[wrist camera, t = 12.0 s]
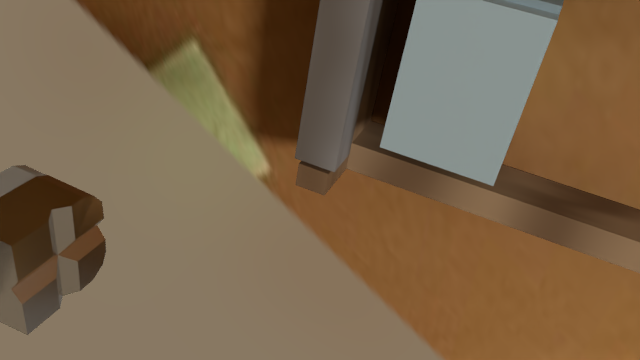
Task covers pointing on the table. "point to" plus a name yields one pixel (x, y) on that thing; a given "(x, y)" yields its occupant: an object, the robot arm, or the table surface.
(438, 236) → the table surface
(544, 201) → the bay
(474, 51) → the grey boxy piece
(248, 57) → the table surface
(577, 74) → the table surface
